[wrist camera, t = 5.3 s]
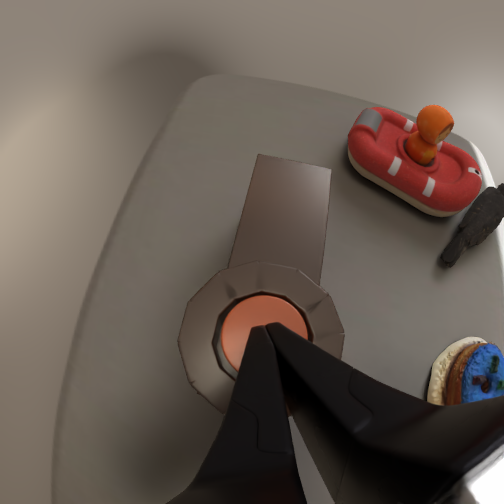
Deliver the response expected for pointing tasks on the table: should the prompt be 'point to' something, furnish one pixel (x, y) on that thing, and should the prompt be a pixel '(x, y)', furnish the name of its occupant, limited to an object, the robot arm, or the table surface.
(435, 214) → the toy boat
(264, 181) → the brown button base
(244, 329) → the button
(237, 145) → the table surface
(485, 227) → the bird model
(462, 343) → the dessert
